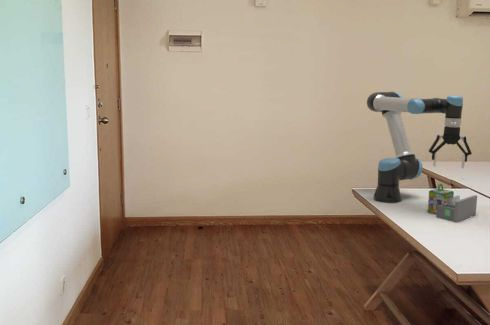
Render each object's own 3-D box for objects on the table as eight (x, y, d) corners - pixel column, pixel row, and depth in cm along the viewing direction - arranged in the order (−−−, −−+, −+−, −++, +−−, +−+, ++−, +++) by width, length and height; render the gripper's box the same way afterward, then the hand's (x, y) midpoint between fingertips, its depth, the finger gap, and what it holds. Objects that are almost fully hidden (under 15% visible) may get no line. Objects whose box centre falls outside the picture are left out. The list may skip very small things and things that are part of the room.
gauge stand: (435, 217, 229) (437, 197, 228) (455, 210, 241) (456, 191, 240) (456, 222, 221) (458, 202, 219) (476, 214, 233) (477, 195, 231)
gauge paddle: (440, 216, 228) (441, 200, 226) (456, 210, 237) (457, 195, 236) (443, 216, 227) (444, 200, 225) (458, 210, 236) (459, 195, 235)
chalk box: (444, 216, 231) (446, 187, 229) (427, 212, 238) (428, 184, 236) (453, 212, 237) (455, 184, 234) (436, 209, 244) (438, 181, 241)
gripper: (426, 126, 234) (423, 166, 238) (480, 128, 227) (476, 170, 232) (425, 124, 241) (422, 163, 246) (477, 126, 234) (473, 167, 239)
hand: (448, 167), depth 239 cm, fingers open, 13 cm apart
